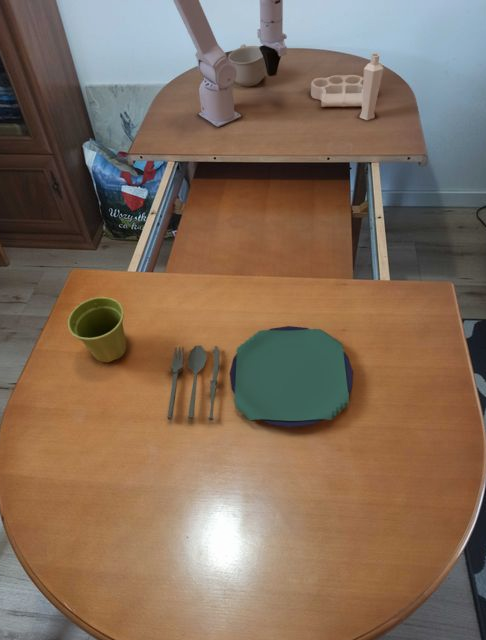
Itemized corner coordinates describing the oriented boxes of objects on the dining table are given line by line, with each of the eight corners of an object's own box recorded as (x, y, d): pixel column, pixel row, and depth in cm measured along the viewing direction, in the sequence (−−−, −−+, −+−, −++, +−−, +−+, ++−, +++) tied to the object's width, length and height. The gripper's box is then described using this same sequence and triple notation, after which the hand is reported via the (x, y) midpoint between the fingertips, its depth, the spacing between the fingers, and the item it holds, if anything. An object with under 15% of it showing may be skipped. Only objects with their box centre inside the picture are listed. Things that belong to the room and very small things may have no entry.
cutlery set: (358, 433, 75) (360, 425, 73) (163, 433, 77) (160, 426, 76) (345, 331, 87) (347, 323, 85) (177, 334, 90) (175, 326, 88)
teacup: (266, 89, 144) (265, 59, 138) (229, 91, 145) (227, 62, 139) (266, 68, 153) (265, 39, 147) (231, 70, 154) (229, 42, 148)
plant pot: (73, 363, 87) (56, 332, 81) (100, 324, 93) (85, 291, 86) (120, 376, 85) (106, 344, 78) (144, 335, 90) (133, 302, 83)
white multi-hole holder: (309, 110, 135) (311, 85, 144) (377, 109, 132) (375, 84, 141) (309, 97, 132) (312, 73, 141) (379, 97, 129) (377, 71, 138)
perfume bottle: (355, 113, 132) (363, 52, 120) (372, 111, 132) (380, 49, 120) (360, 121, 129) (368, 60, 117) (377, 119, 129) (386, 57, 117)
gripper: (298, 24, 122) (296, 81, 133) (274, 6, 131) (274, 61, 142) (272, 30, 121) (272, 88, 132) (249, 12, 130) (251, 67, 140)
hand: (272, 74), depth 137 cm, fingers closed
